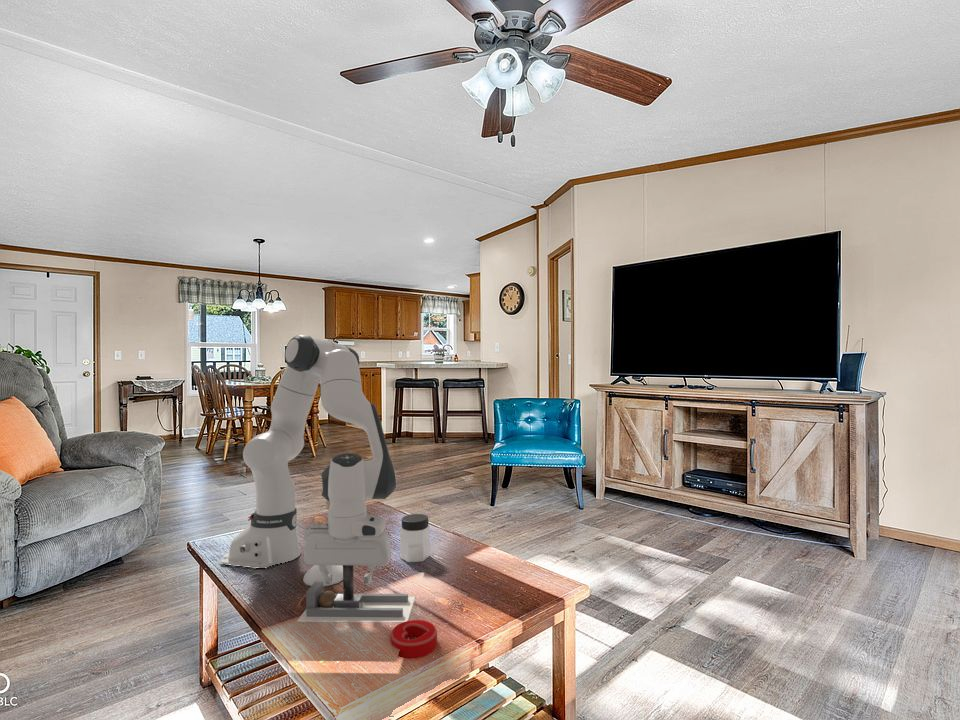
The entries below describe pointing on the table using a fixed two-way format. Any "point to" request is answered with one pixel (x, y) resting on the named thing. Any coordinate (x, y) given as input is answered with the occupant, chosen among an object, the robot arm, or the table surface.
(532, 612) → the table surface
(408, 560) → the jar
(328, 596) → the brown ball
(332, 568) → the flower in vase
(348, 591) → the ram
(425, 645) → the decorative ornament
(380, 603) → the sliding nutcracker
